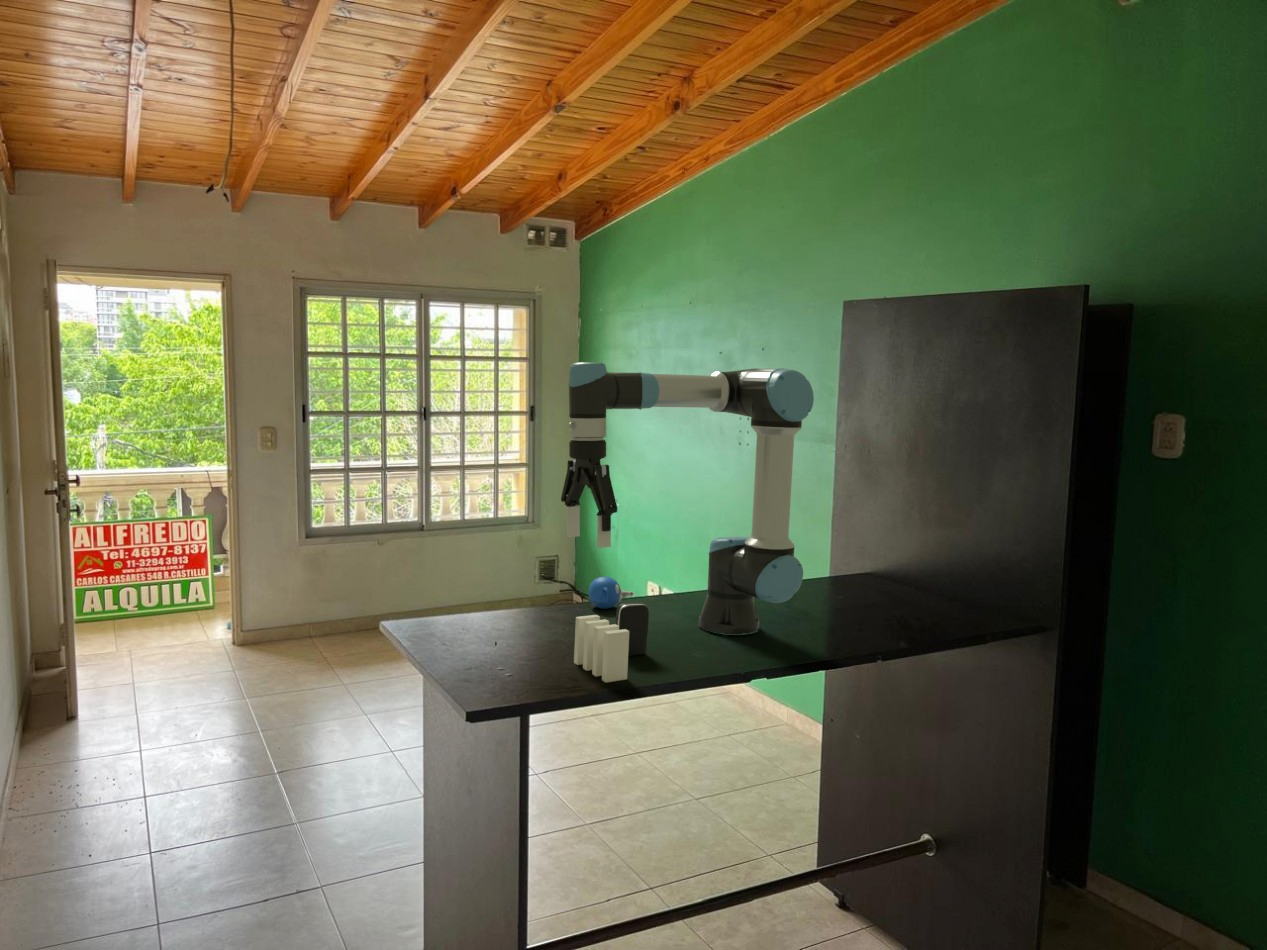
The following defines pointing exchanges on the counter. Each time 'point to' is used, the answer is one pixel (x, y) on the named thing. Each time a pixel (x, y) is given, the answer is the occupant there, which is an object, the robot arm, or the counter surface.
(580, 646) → the tile
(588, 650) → the tile
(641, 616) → the battery charger
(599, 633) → the tile
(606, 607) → the blue mole toy
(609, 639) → the tile
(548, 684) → the counter surface
